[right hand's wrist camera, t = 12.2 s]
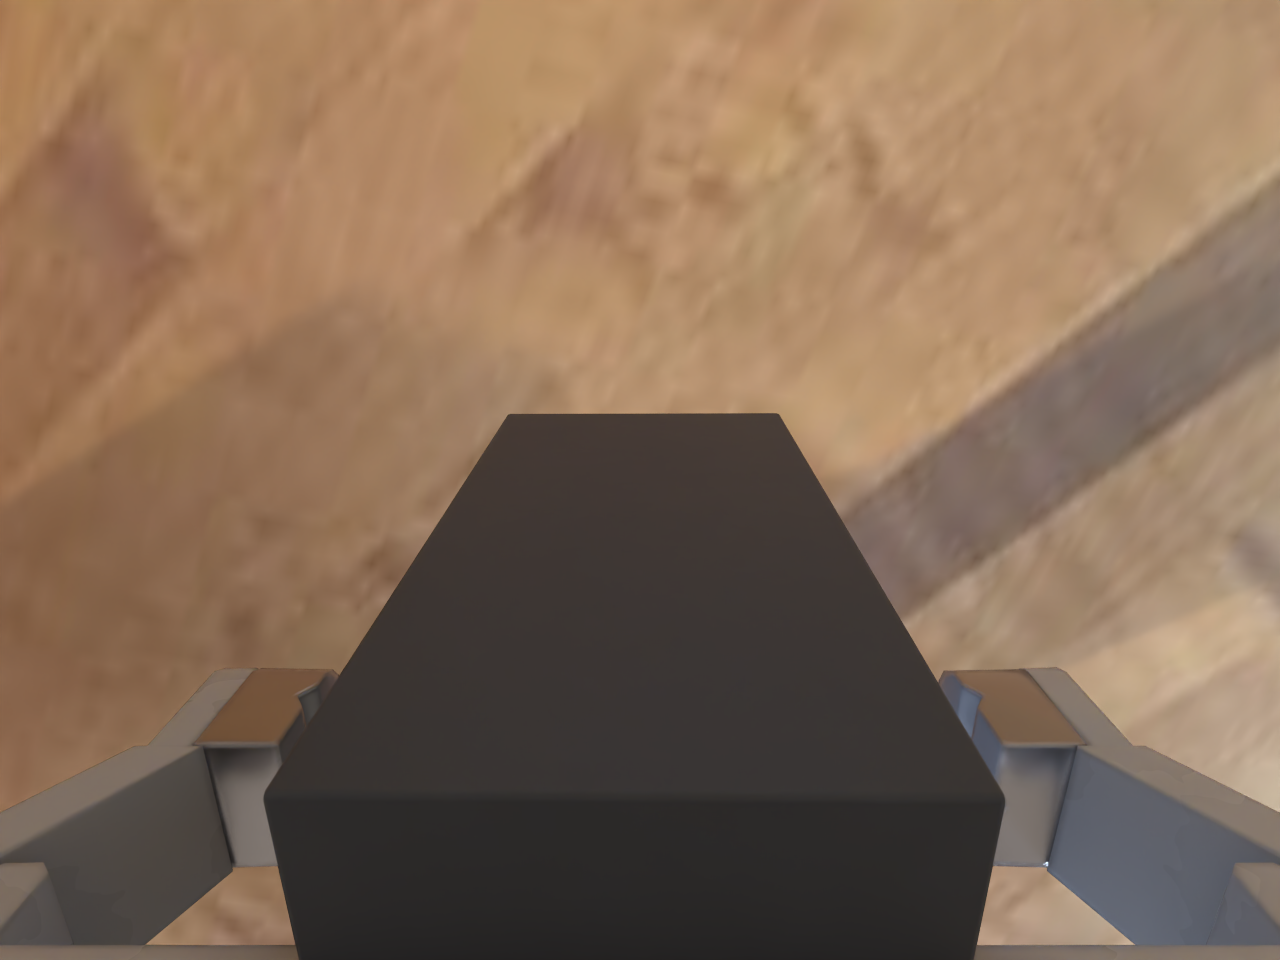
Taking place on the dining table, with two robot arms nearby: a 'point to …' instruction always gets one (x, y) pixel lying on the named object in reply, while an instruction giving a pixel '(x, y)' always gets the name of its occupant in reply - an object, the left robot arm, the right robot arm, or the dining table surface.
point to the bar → (636, 725)
